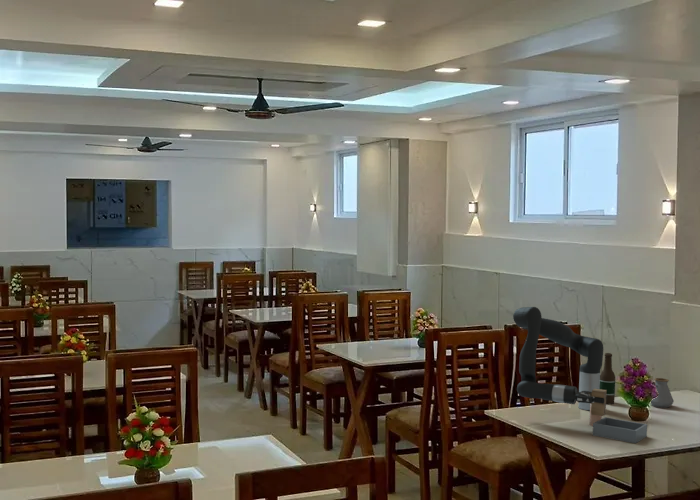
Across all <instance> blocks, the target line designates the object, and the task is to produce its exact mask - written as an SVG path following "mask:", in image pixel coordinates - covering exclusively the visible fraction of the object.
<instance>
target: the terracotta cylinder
mask: <svg viewBox="0 0 700 500" xmlns="http://www.w3.org/2000/svg"><path fill="white" fill-rule="evenodd" d="M602 418H603V416H599V415H591V403H590V410H589V425H590V426H591V427H593V423H595V422H596V421H598V420H600V419H602Z"/></svg>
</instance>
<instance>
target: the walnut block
mask: <svg viewBox="0 0 700 500" xmlns="http://www.w3.org/2000/svg"><path fill="white" fill-rule="evenodd" d="M606 391H607V390H602V389H593V390H592V396H594V397H601V398H604V403H596V402H595V403H591V415H599V416H602V417H605V415H606V409H607V404H606Z"/></svg>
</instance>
